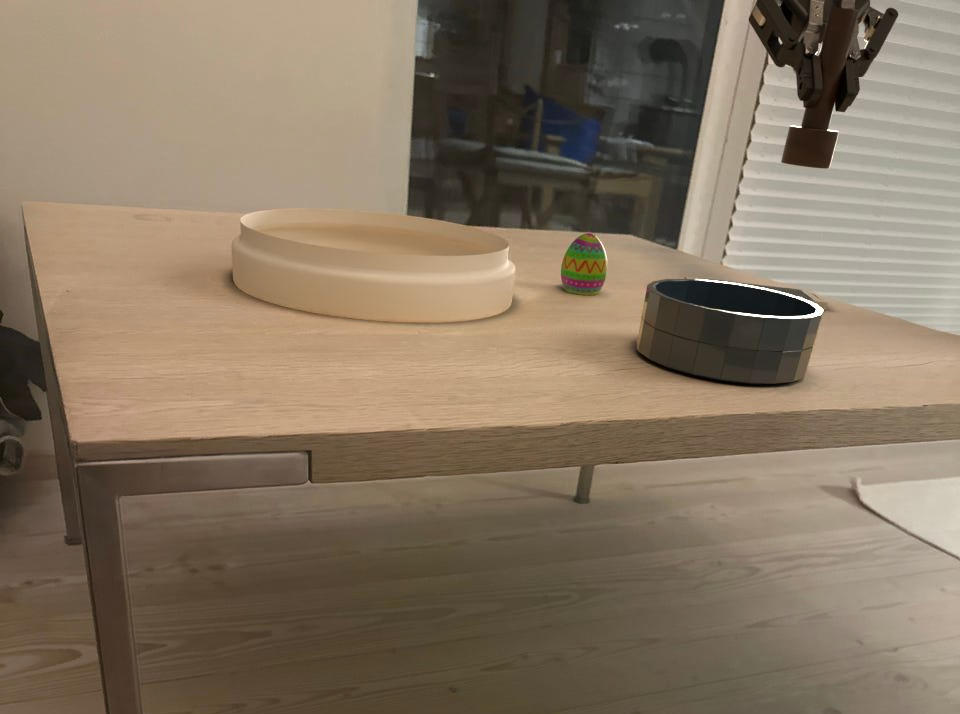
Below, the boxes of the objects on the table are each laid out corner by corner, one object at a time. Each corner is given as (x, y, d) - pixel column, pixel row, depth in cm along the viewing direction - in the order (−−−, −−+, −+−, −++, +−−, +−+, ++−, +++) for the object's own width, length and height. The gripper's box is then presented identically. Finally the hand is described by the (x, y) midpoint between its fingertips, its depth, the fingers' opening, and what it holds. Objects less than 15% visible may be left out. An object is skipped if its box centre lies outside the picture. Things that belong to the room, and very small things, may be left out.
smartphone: (682, 283, 111) (684, 275, 110) (810, 298, 111) (812, 289, 110) (691, 295, 104) (693, 286, 104) (826, 310, 105) (829, 302, 104)
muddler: (813, 165, 88) (852, 13, 81) (838, 170, 84) (881, 11, 78) (772, 160, 86) (808, 6, 80) (796, 166, 83) (836, 5, 77)
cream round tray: (554, 296, 96) (562, 240, 93) (424, 341, 75) (428, 270, 72) (340, 253, 106) (341, 201, 103) (170, 282, 85) (166, 217, 82)
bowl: (752, 345, 86) (767, 283, 83) (837, 391, 74) (858, 321, 72) (611, 339, 82) (622, 274, 80) (678, 387, 71) (693, 313, 68)
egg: (612, 296, 100) (621, 236, 97) (585, 299, 97) (594, 238, 94) (576, 286, 103) (584, 228, 100) (549, 290, 99) (556, 230, 96)
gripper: (762, -106, 81) (771, 57, 77) (911, -85, 82) (929, 77, 78) (729, -27, 88) (737, 127, 84) (867, -8, 89) (881, 143, 85)
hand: (829, 102), depth 81 cm, fingers closed on muddler, 2 cm apart
